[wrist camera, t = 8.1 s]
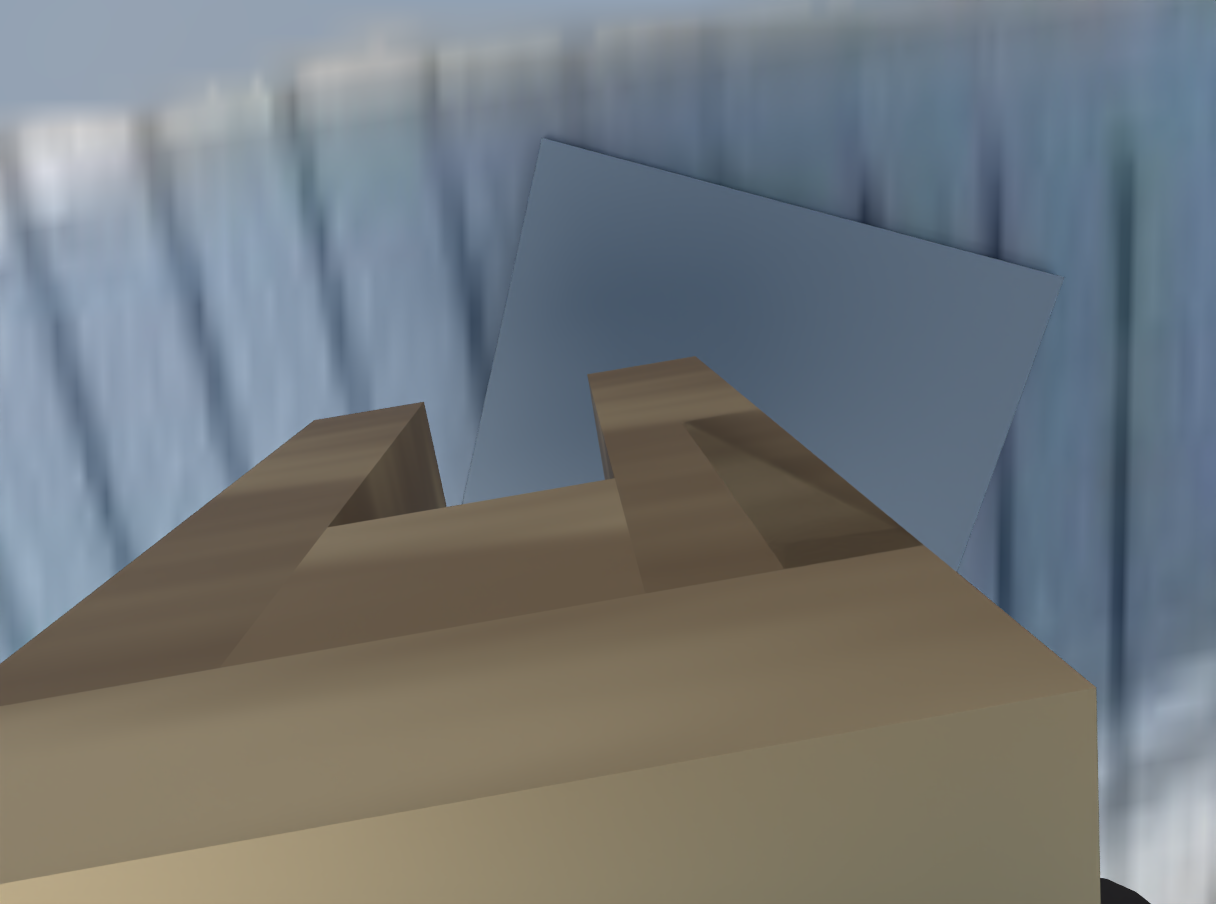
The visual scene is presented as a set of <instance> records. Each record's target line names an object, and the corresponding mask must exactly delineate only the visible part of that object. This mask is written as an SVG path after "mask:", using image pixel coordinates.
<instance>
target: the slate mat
mask: <svg viewBox="0 0 1216 904" xmlns="http://www.w3.org/2000/svg"><path fill="white" fill-rule="evenodd" d="M1063 280H1064V277H1061V276H1058V275H1054V274H1050V273H1046V272H1043V271H1039V270H1035V269H1031V268H1028V267H1024V266H1020V265H1016V264H1013V263H1009V262H1005V261H1001V260H998V259H994V258H990V257H986V256H983V255H979V254H975V253H972V252H968V251H964V250H960V249H957V248H953V247H949V246H945V245H942V244H938V243H934V242H930V241H927V240H923V239H919V238H915V237H912V236H908V235H904V234H900V233H897V232H893V231H889V230H885V229H882V228H878V227H874V226H871V225H867V224H863V223H859V222H856V221H852V220H848V219H844V218H841V217H837V216H833V215H829V214H826V213H822V212H818V211H814V210H811V209H807V208H803V207H799V206H796V205H792V204H788V203H784V202H781V201H777V200H773V199H770V198H766V197H762V196H758V195H755V194H751V193H747V192H743V191H740V190H736V189H732V188H728V187H725V186H721V185H717V184H713V183H710V182H706V181H702V180H698V179H695V178H691V177H687V176H683V175H680V174H676V173H672V172H669V171H665V170H661V169H657V168H654V167H650V166H646V165H642V164H639V163H635V162H631V161H627V160H624V159H620V158H616V157H612V156H609V155H605V154H601V153H597V152H594V151H590V150H586V149H582V148H579V147H575V146H571V145H568V144H564V143H560V142H556V141H553V140H549V139H545V138H542V139H541V143H540V148H539V153H538V157H537V162H536V166H535V171H534V176H533V180H532V185H531V189H530V194H529V199H528V203H527V208H526V212H525V217H524V222H523V226H522V231H521V235H520V240H519V245H518V249H517V254H516V259H515V263H514V268H513V272H512V277H511V282H510V286H509V291H508V295H507V300H506V305H505V309H504V314H503V318H502V323H501V328H500V332H499V337H498V341H497V346H496V351H495V355H494V360H493V364H492V369H491V374H490V378H489V383H488V387H487V392H486V397H485V401H484V406H483V410H482V415H481V420H480V424H479V429H478V433H477V438H476V443H475V447H474V452H473V457H472V461H471V466H470V470H469V475H468V480H467V484H466V489H465V493H464V498H463V503H462V504H467V503H473V502H479V501H485V500H491V499H496V498H502V497H508V496H514V495H520V494H526V493H532V492H537V491H543V490H549V489H555V488H561V487H567V486H572V485H578V484H584V483H590V482H596V481H602V480H605V478H604V472H603V466H602V460H601V454H600V448H599V442H598V436H597V430H596V424H595V418H594V412H593V406H592V400H591V394H590V388H589V382H588V376H587V374H592V373H598V372H604V371H610V370H616V369H622V368H628V367H634V366H640V365H646V364H652V363H658V362H664V361H669V360H675V359H681V358H687V357H693V356H696V357H697V358H698V359H699V360H701V361H702V362H703V363H704V364H706V365H707V366H708V367H709V368H710V369H712V370H713V371H714V372H715V373H716V374H718V375H719V376H720V377H721V378H722V379H724V380H725V381H726V382H727V383H728V384H730V385H731V386H732V387H733V388H735V389H736V390H737V391H738V392H739V393H741V394H742V395H743V396H744V397H745V398H747V399H748V400H749V401H750V402H751V403H753V404H754V405H755V406H756V407H758V408H759V409H760V410H761V411H762V412H764V413H765V414H766V415H767V416H768V417H770V418H771V419H772V420H773V421H774V422H776V423H777V424H778V425H779V426H780V427H782V428H783V429H784V430H785V431H787V432H788V433H789V434H790V435H791V436H793V437H794V438H795V439H796V440H797V441H799V442H800V443H801V444H802V445H803V446H805V447H806V448H807V449H808V450H810V451H811V452H812V453H813V454H814V455H816V456H817V457H818V458H819V459H820V460H822V461H823V462H824V463H825V464H826V465H828V466H829V467H830V468H831V469H833V470H834V471H835V472H836V473H837V474H839V475H840V476H841V477H842V478H843V479H845V480H846V481H847V482H848V483H849V484H851V485H852V486H853V487H854V488H855V489H857V490H858V491H859V492H860V493H862V494H863V495H864V496H865V497H866V498H868V499H869V500H870V501H871V502H872V503H874V504H875V505H876V506H877V507H878V508H880V509H881V510H882V511H883V512H885V513H886V514H887V515H888V516H889V517H891V518H892V519H893V520H894V521H895V522H897V523H898V524H899V525H900V526H901V527H903V528H904V529H905V530H906V531H907V532H909V533H910V534H911V535H912V536H914V537H915V538H916V539H917V540H918V541H920V542H921V543H922V544H923V545H924V546H926V547H927V548H928V549H929V550H930V551H932V552H933V553H934V554H935V555H937V556H938V557H939V558H940V559H941V560H943V561H944V562H945V563H946V564H947V565H949V566H950V567H951V568H952V569H953V570H955V571H956V572H957V570H958V568H959V565H960V562H961V559H962V557H963V554H964V551H965V549H966V546H967V543H968V540H969V538H970V535H971V532H972V529H973V527H974V524H975V521H976V518H977V516H978V513H979V510H980V507H981V505H982V502H983V499H984V496H985V494H986V491H987V488H988V485H989V483H990V480H991V477H992V475H993V472H994V469H995V466H996V464H997V461H998V458H999V455H1000V453H1001V450H1002V447H1003V444H1004V442H1005V439H1006V436H1007V433H1008V431H1009V428H1010V425H1011V422H1012V420H1013V417H1014V414H1015V412H1016V409H1017V406H1018V403H1019V401H1020V398H1021V395H1022V392H1023V390H1024V387H1025V384H1026V381H1027V379H1028V376H1029V373H1030V370H1031V368H1032V365H1033V362H1034V359H1035V357H1036V354H1037V351H1038V348H1039V346H1040V343H1041V340H1042V338H1043V335H1044V332H1045V329H1046V327H1047V324H1048V321H1049V318H1050V316H1051V313H1052V310H1053V307H1054V305H1055V302H1056V299H1057V296H1058V294H1059V291H1060V288H1061V285H1062V283H1063Z"/></svg>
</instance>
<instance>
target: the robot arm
mask: <svg viewBox="0 0 1216 904" xmlns="http://www.w3.org/2000/svg"><path fill="white" fill-rule="evenodd" d="M1100 901H1101V904H1151V903H1149V902H1148V901H1147V900H1145V899H1144V898H1143V897H1142V896H1140V895H1139V894H1138V893H1137V892H1135V891H1133V890H1130V889H1128V888H1126V887H1124V886H1122V885H1119V884H1117V883H1115V882H1113V881H1110V880H1108V879H1104V878H1100Z"/></svg>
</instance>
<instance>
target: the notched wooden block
mask: <svg viewBox="0 0 1216 904" xmlns="http://www.w3.org/2000/svg"><path fill="white" fill-rule="evenodd" d="M587 376H588V382H589V388H590V394H591V400H592V406H593V412H594V418H595V424H596V430H597V436H598V442H599V448H600V454H601V460H602V466H603V472H604V478H605V480H602V481H596V482H590V483H584V484H578V485H572V486H567V487H561V488H555V489H549V490H543V491H537V492H532V493H526V494H520V495H514V496H508V497H502V498H496V499H491V500H485V501H479V502H473V503H467V504H461V505H456V506H450V507H446V502H445V497H444V493H443V488H442V483H441V479H440V474H439V469H438V465H437V460H436V456H435V451H434V446H433V442H432V437H431V432H430V428H429V423H428V419H427V414H426V409H425V405H424V402H420V403H414V404H408V405H402V406H396V407H390V408H384V409H379V410H373V411H367V412H361V413H355V414H349V415H343V416H337V417H331V418H325V419H319V420H314V421H313V422H311V423H310V424H309V425H307V426H306V427H305V428H304V429H302V430H301V431H300V432H298V433H297V434H296V435H295V436H293V437H292V438H291V439H289V440H288V441H287V442H286V443H284V444H283V445H282V446H280V447H279V448H278V449H277V450H275V451H274V452H273V453H271V454H270V455H269V456H268V457H266V458H265V459H264V460H262V461H261V462H260V463H259V464H257V465H256V466H255V467H253V468H252V469H251V470H250V471H248V472H247V473H246V474H244V475H243V476H242V477H240V478H239V479H238V480H237V481H235V482H234V483H233V484H231V485H230V486H229V487H228V488H226V489H225V490H224V491H222V492H221V493H220V494H219V495H217V496H216V497H215V498H213V499H212V500H211V501H210V502H208V503H207V504H206V505H204V506H203V507H202V508H201V509H199V510H198V511H197V512H195V513H194V514H193V515H192V516H190V517H189V518H188V519H186V520H185V521H184V522H182V523H181V524H180V525H179V526H177V527H176V528H175V529H173V530H172V531H171V532H170V533H168V534H167V535H166V536H164V537H163V538H162V539H161V540H159V541H158V542H157V543H155V544H154V545H153V546H152V547H150V548H149V549H148V550H146V551H145V552H144V553H143V554H141V555H140V556H139V557H137V558H136V559H135V560H134V561H132V562H131V563H130V564H128V565H127V566H126V567H125V568H123V569H122V570H121V571H119V572H118V573H117V574H115V575H114V576H113V577H112V578H110V579H109V580H108V581H106V582H105V583H104V584H103V585H101V586H100V587H99V588H97V589H96V590H95V591H94V592H92V593H91V594H90V595H88V596H87V597H86V598H85V599H83V600H82V601H81V602H79V603H78V604H77V605H76V606H74V607H73V608H72V609H70V610H69V611H68V612H67V613H65V614H64V615H63V616H61V617H60V618H59V619H57V620H56V621H55V622H54V623H52V624H51V625H50V626H48V627H47V628H46V629H45V630H43V631H42V632H41V633H39V634H38V635H37V636H36V637H34V638H33V639H32V640H30V641H29V642H28V643H27V644H25V645H24V646H23V647H21V648H20V649H19V650H18V651H16V652H15V653H14V654H12V655H11V656H10V657H9V658H7V659H6V660H5V661H3V662H2V663H1V664H0V904H1101V901H1100V851H1099V801H1098V750H1097V700H1096V687H1095V686H1094V685H1093V684H1091V683H1090V682H1089V681H1088V680H1086V679H1085V678H1084V677H1083V676H1082V675H1080V674H1079V673H1078V672H1077V671H1076V670H1074V669H1073V668H1072V667H1071V666H1070V665H1068V664H1067V663H1066V662H1065V661H1063V660H1062V659H1061V658H1060V657H1059V656H1057V655H1056V654H1055V653H1054V652H1053V651H1051V650H1050V649H1049V648H1048V647H1047V646H1045V645H1044V644H1043V643H1042V642H1041V641H1039V640H1038V639H1037V638H1036V637H1034V636H1033V635H1032V634H1031V633H1030V632H1028V631H1027V630H1026V629H1025V628H1024V627H1022V626H1021V625H1020V624H1019V623H1018V622H1016V621H1015V620H1014V619H1013V618H1011V617H1010V616H1009V615H1008V614H1007V613H1005V612H1004V611H1003V610H1002V609H1001V608H999V607H998V606H997V605H996V604H995V603H993V602H992V601H991V600H990V599H989V598H987V597H986V596H985V595H984V594H982V593H981V592H980V591H979V590H978V589H976V588H975V587H974V586H973V585H972V584H970V583H969V582H968V581H967V580H966V579H964V578H963V577H962V576H961V575H959V574H958V573H957V572H956V571H955V570H953V569H952V568H951V567H950V566H949V565H947V564H946V563H945V562H944V561H943V560H941V559H940V558H939V557H938V556H937V555H935V554H934V553H933V552H932V551H930V550H929V549H928V548H927V547H926V546H924V545H923V544H922V543H921V542H920V541H918V540H917V539H916V538H915V537H914V536H912V535H911V534H910V533H909V532H907V531H906V530H905V529H904V528H903V527H901V526H900V525H899V524H898V523H897V522H895V521H894V520H893V519H892V518H891V517H889V516H888V515H887V514H886V513H885V512H883V511H882V510H881V509H880V508H878V507H877V506H876V505H875V504H874V503H872V502H871V501H870V500H869V499H868V498H866V497H865V496H864V495H863V494H862V493H860V492H859V491H858V490H857V489H855V488H854V487H853V486H852V485H851V484H849V483H848V482H847V481H846V480H845V479H843V478H842V477H841V476H840V475H839V474H837V473H836V472H835V471H834V470H833V469H831V468H830V467H829V466H828V465H826V464H825V463H824V462H823V461H822V460H820V459H819V458H818V457H817V456H816V455H814V454H813V453H812V452H811V451H810V450H808V449H807V448H806V447H805V446H803V445H802V444H801V443H800V442H799V441H797V440H796V439H795V438H794V437H793V436H791V435H790V434H789V433H788V432H787V431H785V430H784V429H783V428H782V427H780V426H779V425H778V424H777V423H776V422H774V421H773V420H772V419H771V418H770V417H768V416H767V415H766V414H765V413H764V412H762V411H761V410H760V409H759V408H758V407H756V406H755V405H754V404H753V403H751V402H750V401H749V400H748V399H747V398H745V397H744V396H743V395H742V394H741V393H739V392H738V391H737V390H736V389H735V388H733V387H732V386H731V385H730V384H728V383H727V382H726V381H725V380H724V379H722V378H721V377H720V376H719V375H718V374H716V373H715V372H714V371H713V370H712V369H710V368H709V367H708V366H707V365H706V364H704V363H703V362H702V361H701V360H699V359H698V358H697V357H696V356H693V357H687V358H681V359H675V360H669V361H664V362H658V363H652V364H646V365H640V366H634V367H628V368H622V369H616V370H610V371H604V372H598V373H592V374H587Z"/></svg>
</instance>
